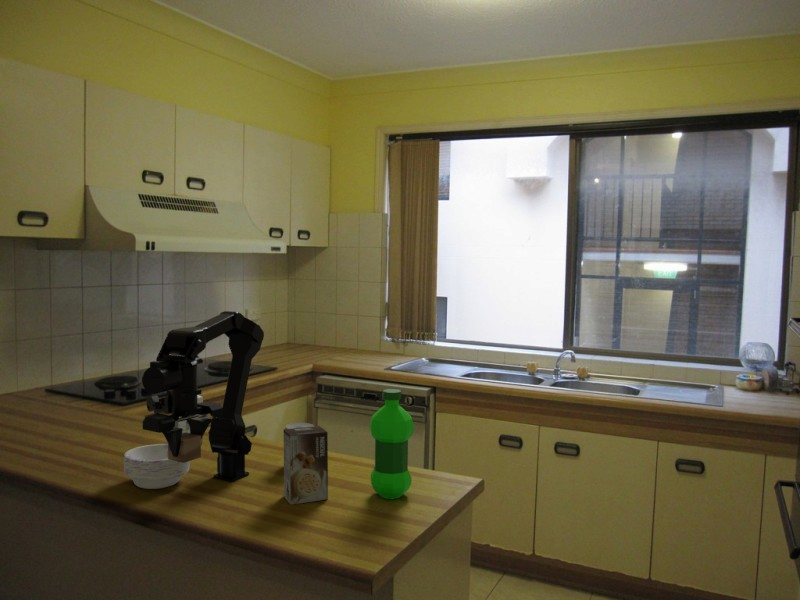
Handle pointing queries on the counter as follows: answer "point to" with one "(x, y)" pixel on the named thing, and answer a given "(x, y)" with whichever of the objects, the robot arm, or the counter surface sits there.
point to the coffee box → (305, 464)
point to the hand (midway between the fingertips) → (184, 453)
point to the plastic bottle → (391, 447)
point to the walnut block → (187, 448)
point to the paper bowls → (153, 467)
